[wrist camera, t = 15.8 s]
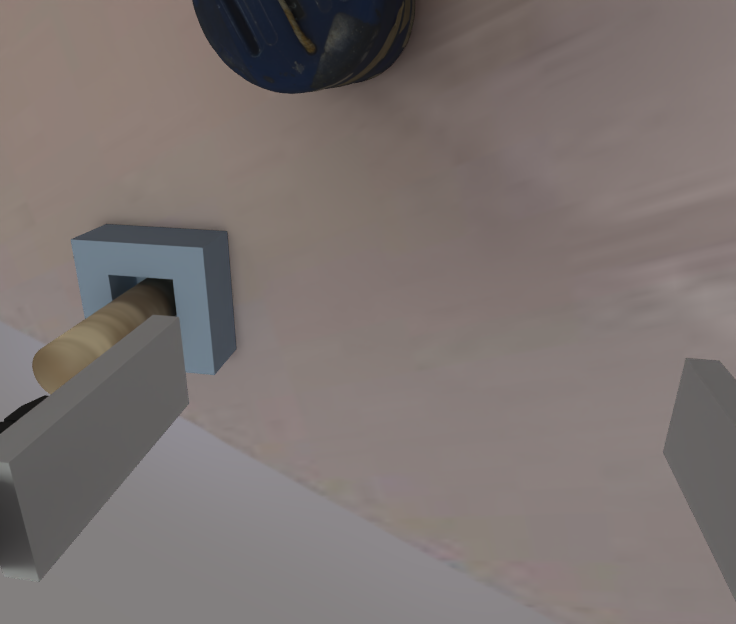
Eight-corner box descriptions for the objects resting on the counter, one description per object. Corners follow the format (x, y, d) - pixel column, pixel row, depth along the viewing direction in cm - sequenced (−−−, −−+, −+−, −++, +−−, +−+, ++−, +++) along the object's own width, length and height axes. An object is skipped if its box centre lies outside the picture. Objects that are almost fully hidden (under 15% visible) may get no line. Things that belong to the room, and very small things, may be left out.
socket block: (106, 224, 52) (70, 239, 47) (227, 231, 50) (202, 247, 46) (124, 339, 56) (93, 363, 52) (236, 349, 55) (214, 375, 50)
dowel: (143, 268, 52) (26, 342, 38) (187, 271, 51) (85, 348, 38) (148, 311, 53) (38, 397, 40) (191, 314, 53) (94, 403, 39)
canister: (403, -84, 40) (353, -188, 23) (429, 66, 43) (402, 68, 27) (269, -43, 42) (139, -111, 26) (304, 97, 45) (208, 116, 29)
